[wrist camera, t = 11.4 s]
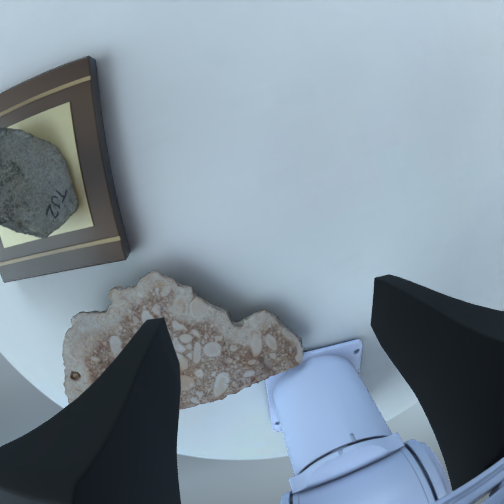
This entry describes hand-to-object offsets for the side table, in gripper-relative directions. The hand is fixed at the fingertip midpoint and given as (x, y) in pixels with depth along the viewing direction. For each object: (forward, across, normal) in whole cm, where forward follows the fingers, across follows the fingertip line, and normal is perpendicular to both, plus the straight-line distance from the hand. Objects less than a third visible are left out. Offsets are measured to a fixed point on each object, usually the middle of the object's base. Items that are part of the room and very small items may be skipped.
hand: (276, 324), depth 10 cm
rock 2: (+10, +6, +6) cm, 13 cm away
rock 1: (+8, +12, -6) cm, 15 cm away
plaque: (+9, +12, -6) cm, 16 cm away
